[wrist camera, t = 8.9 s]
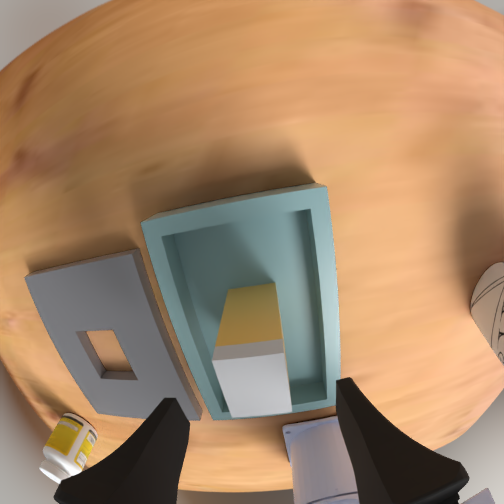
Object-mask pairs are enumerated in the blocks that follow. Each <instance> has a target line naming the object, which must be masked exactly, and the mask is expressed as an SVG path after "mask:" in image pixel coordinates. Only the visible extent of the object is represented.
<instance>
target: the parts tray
mask: <svg viewBox="0 0 504 504" xmlns="http://www.w3.org/2000/svg"><path fill="white" fill-rule="evenodd" d="M141 226H142V230H143V234H144V237H145V241H146V245H147V248H148V252H149V255H150V258H151V262H152V265H153V268H154V272H155V275H156V278H157V281H158V284H159V287H160V290H161V293H162V296H163V299H164V302H165V305H166V308H167V311H168V314H169V316H170V319H171V322H172V325H173V327H174V330H175V333H176V335H177V338H178V341H179V343H180V346H181V348H182V351H183V353H184V356H185V358H186V361H187V363H188V365H189V368H190V370H191V373H192V375H193V377H194V380H195V382H196V384H197V386H198V389H199V391H200V393H201V395H202V398H203V400H204V402H205V404H206V406H207V408H208V410H209V413H210V415H211V417H212V419H213V420H231V419H246V418H257V417H267V416H275V415H283V414H290V413H297V412H303V411H309V410H315V409H320V408H325V407H330V406H335V405H336V380H339V379H340V324H339V303H338V287H337V273H336V261H335V251H334V241H333V232H332V223H331V215H330V207H329V199H328V192H327V186H324V185H321V184H318V183H310V184H303V185H297V186H291V187H285V188H279V189H273V190H267V191H261V192H256V193H250V194H245V195H240V196H235V197H229V198H224V199H219V200H215V201H210V202H205V203H200V204H196V205H191V206H186V207H182V208H178V209H173V210H169V211H165V212H160V213H157V214H155V215H153V216H151V217H150V218H148V219H146V220H144V221H142V222H141ZM269 283H276V289H277V296H278V302H279V309H280V316H281V323H282V329H283V337H284V345H285V353H286V361H287V370H288V378H289V387H290V396H291V405H292V412H288V413H280V414H272V415H262V416H250V417H235V418H232V416H231V413H230V411H229V408H228V405H227V403H226V400H225V397H224V394H223V392H222V389H221V386H220V383H219V380H218V378H217V375H216V372H215V369H214V366H213V363H212V357H213V353H214V349H215V344H216V340H217V336H218V331H219V327H220V323H221V318H222V314H223V310H224V305H225V301H226V297H227V293H228V289H235V288H242V287H249V286H256V285H262V284H269Z"/></svg>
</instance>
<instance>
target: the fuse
mask: <svg viewBox="0 0 504 504" xmlns="http://www.w3.org/2000/svg"><path fill="white" fill-rule="evenodd" d="M212 363H213V366H214V369H215V372H216V375H217V378H218V380H219V383H220V386H221V389H222V392H223V394H224V397H225V400H226V403H227V405H228V408H229V411H230V413H231V416H232V418H235V417H250V416H262V415H272V414H280V413H288V412H292V405H291V396H290V387H289V378H288V370H287V361H286V353H285V345H284V337H283V329H282V323H281V316H280V309H279V302H278V296H277V289H276V283H269V284H262V285H256V286H249V287H242V288H235V289H228V293H227V297H226V301H225V305H224V310H223V314H222V318H221V323H220V327H219V331H218V336H217V340H216V344H215V349H214V353H213V357H212Z"/></svg>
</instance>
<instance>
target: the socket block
mask: <svg viewBox="0 0 504 504" xmlns="http://www.w3.org/2000/svg"><path fill="white" fill-rule="evenodd" d="M24 278H25V281H26V283H27V286H28V289H29V291H30V294H31V296H32V299H33V301H34V303H35V306H36V308H37V310H38V313H39V315H40V317H41V319H42V321H43V323H44V325H45V328H46V330H47V332H48V334H49V336H50V338H51V340H52V341H53V343H54V345H55V347H56V349H57V351H58V353H59V354H60V356H61V358H62V360H63V362H64V363H65V365H66V367H67V368H68V370H69V372H70V373H71V375H72V377H73V378H74V380H75V381H76V383H77V384H78V386H79V388H80V389H81V391H82V392H83V394H84V395H85V397H86V398H87V399H88V401H89V402H90V404H91V405H92V407H93V408H94V409H95V411H96V412H97V413H99V414H106V415H113V416H121V417H131V418H142V419H147V418H148V416H149V415H150V414H151V413H152V412H153V410H154V409H155V408H156V407H157V406H158V404H159V403H160V402H161V401H162V400H163V399H164V398H176V399H177V401H178V403H179V404H180V406H181V408H182V410H183V412H184V414H185V415H186V417H187V419H188V420H201V415H202V409H201V407H200V405H199V403H198V401H197V399H196V397H195V395H194V393H193V391H192V389H191V386H190V384H189V382H188V380H187V378H186V375H185V373H184V371H183V369H182V366H181V364H180V362H179V359H178V357H177V354H176V352H175V350H174V347H173V345H172V342H171V340H170V337H169V335H168V332H167V330H166V327H165V324H164V322H163V319H162V316H161V314H160V311H159V308H158V305H157V302H156V300H155V297H154V294H153V291H152V288H151V285H150V282H149V279H148V276H147V273H146V269H145V266H144V263H143V260H142V256H141V253H140V250H139V248H138V249H133V250H128V251H123V252H119V253H114V254H109V255H105V256H100V257H96V258H91V259H87V260H82V261H78V262H74V263H69V264H65V265H61V266H56V267H52V268H48V269H44V270H39V271H35V272H32V273H30V274H29V275H27V276H25V277H24ZM98 330H113V331H114V333H115V335H116V337H117V339H118V341H119V344H120V346H121V348H122V350H123V352H124V354H125V356H126V358H127V360H128V362H129V364H130V366H131V368H132V369H133V371H134V372H133V371H106V370H105V368H104V366H103V365H102V363H101V361H100V359H99V357H98V355H97V354H96V352H95V350H94V348H93V346H92V344H91V342H90V340H89V338H88V336H87V334H86V332H85V331H98Z"/></svg>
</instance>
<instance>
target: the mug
mask: <svg viewBox="0 0 504 504" xmlns="http://www.w3.org/2000/svg"><path fill="white" fill-rule="evenodd" d="M471 315H472V318H473V320H474V322H475V323H476V325H477V326H478V328H479V329H480V331H481V332H482V334H483V335H484V337H485V339H486V340H487V342H488V343H489V345H490V347H491V348H492V350H493V351H494V353H495V354H496V356H497V357H498V358H499V360H500V361H501V363H502V364H503V365H504V262H499V263H496V264H494V265H492V266H491V267H489V268H488V269H487V270H486V271H485V272H484V274H483V275H482V276H481V278H480V279H479V281H478V283H477V285H476V287H475V290H474V292H473V295H472V299H471Z"/></svg>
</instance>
